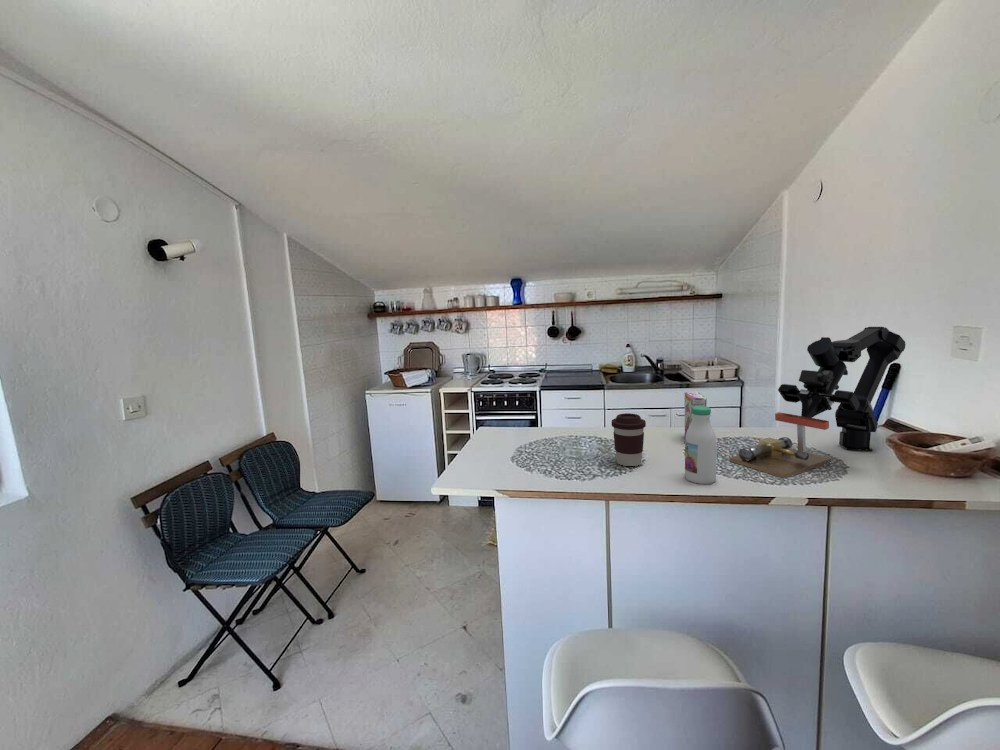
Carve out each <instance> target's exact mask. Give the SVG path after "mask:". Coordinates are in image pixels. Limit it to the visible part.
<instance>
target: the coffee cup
mask: <svg viewBox="0 0 1000 750" xmlns="http://www.w3.org/2000/svg"><path fill="white" fill-rule="evenodd" d="M646 424H647V423H646V420H645V419H643V418H641V416H640V415H639V414H637V413H636V414H635V413H630V412H627V413H620V414H617V415H616V416H615V418H613V419H612V420H611V427H612V428H613V443H614V451H615V456H616V457H615V459H616V464H618V465H619V464H620V465H619V466H621V465H623V466H622V467H625V466H635V467H638V465H639V466H641V464H642V457H643V451H644V438H645V431H644V430H645V428H646V426H647V425H646Z"/></svg>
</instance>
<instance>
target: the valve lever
mask: <svg viewBox="0 0 1000 750" xmlns="http://www.w3.org/2000/svg"><path fill="white" fill-rule="evenodd" d="M774 419H775V421H778V422H783V423H787V424H792V425H796V431H797V435H796V436H797V450H798V451H797V452H796V454H795V457H796V458H798V459H802V460H808V458H809V454H808V453H809V452H807V449H806V447H807V445H806V427H809V428H812V429H819V430H823V431H826V430H828V429H830V421H829V420H826V419H825V420H824V419H821V418H814V417H812V418H809V417H803V416H801V415H796V414H792V413H785V412H779V411H777V412H776V413H774ZM806 452H807V453H806Z"/></svg>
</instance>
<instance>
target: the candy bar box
mask: <svg viewBox="0 0 1000 750" xmlns="http://www.w3.org/2000/svg"><path fill="white" fill-rule="evenodd" d="M695 406H705V407H707V398H706V397H705V396H704V395H703V394H702V393H700V392H699V391H691V392H689V391H687V392H684V437H685V438H686V433H687V430H688V428H689V426H690V424H691V422H692V418H693V416H692V407H695Z"/></svg>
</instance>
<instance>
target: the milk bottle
mask: <svg viewBox="0 0 1000 750" xmlns="http://www.w3.org/2000/svg"><path fill="white" fill-rule="evenodd" d="M711 411H712V409H711V408H710V407H709V406H706V407H705V406H695V407H692V416H693V418H692V422H691V424H690V426H689V428H688V430H687V433H686V437H685V442H684V446H685V447H684V477H685V479H686V480H687V481H689V482H691V483H694V484H699V485H709V484H713V483H715V482H716V480H717V454H718V453H717V447H718V446H717V435H716V432H715V429H714V428H713V425H712V423H711V419H710V417H711V413H712V412H711Z"/></svg>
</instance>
